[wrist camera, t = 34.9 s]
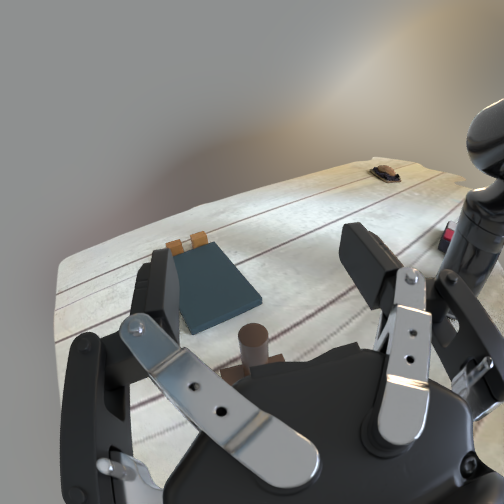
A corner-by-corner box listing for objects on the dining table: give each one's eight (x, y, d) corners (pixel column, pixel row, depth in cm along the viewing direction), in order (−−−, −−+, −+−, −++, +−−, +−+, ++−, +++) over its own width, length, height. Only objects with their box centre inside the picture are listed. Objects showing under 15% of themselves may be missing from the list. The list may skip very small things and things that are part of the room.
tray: (215, 247, 55) (214, 241, 54) (262, 303, 43) (262, 297, 42) (159, 268, 51) (157, 262, 50) (192, 335, 38) (190, 329, 37)
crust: (184, 256, 53) (182, 251, 55) (181, 244, 51) (179, 238, 53) (170, 260, 52) (168, 255, 54) (167, 248, 50) (165, 243, 52)
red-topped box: (449, 218, 55) (496, 240, 45) (445, 232, 57) (491, 254, 48) (441, 235, 49) (496, 261, 39) (436, 251, 51) (489, 277, 42)
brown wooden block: (209, 247, 55) (205, 242, 57) (206, 235, 53) (203, 230, 55) (195, 252, 54) (192, 247, 56) (192, 239, 52) (189, 234, 54)
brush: (281, 362, 34) (285, 307, 27) (293, 390, 31) (302, 341, 24) (222, 378, 32) (206, 326, 25) (230, 408, 29) (215, 365, 22)
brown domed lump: (367, 171, 88) (368, 161, 86) (385, 170, 89) (386, 161, 87) (385, 183, 80) (386, 172, 77) (403, 182, 81) (404, 172, 78)
